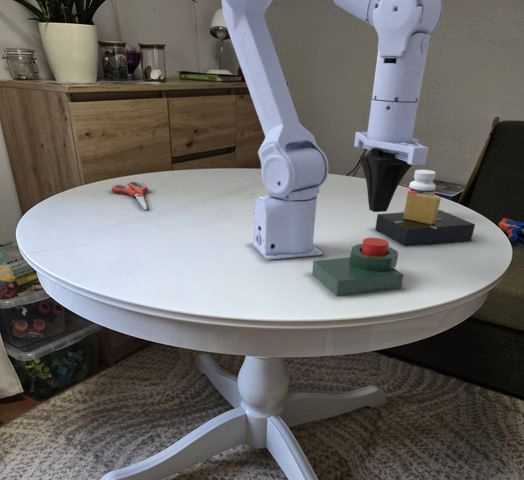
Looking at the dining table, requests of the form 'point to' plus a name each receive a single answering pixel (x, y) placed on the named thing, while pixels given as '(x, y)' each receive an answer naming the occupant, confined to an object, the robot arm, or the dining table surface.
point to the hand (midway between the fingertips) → (377, 210)
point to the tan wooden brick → (421, 207)
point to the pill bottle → (423, 182)
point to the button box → (359, 273)
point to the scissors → (133, 191)
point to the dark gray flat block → (424, 229)
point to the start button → (375, 247)
